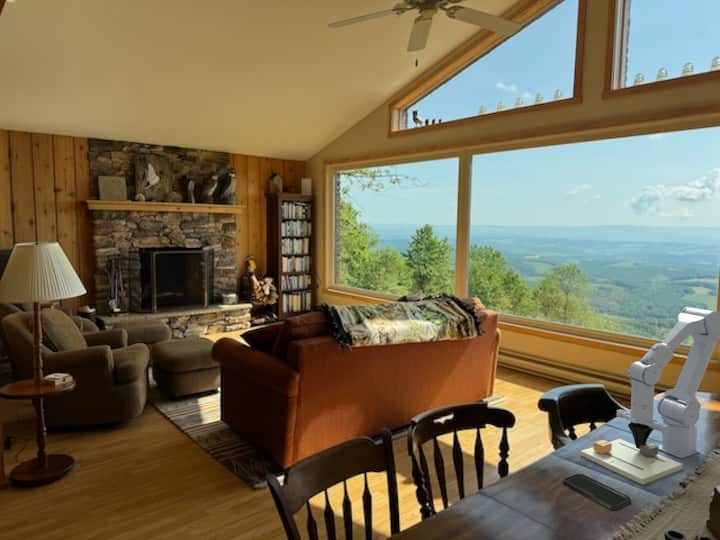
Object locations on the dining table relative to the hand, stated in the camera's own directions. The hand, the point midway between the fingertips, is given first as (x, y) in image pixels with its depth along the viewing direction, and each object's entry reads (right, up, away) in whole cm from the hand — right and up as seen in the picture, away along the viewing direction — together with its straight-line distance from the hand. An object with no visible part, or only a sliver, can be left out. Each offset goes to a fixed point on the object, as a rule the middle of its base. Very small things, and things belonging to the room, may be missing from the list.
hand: (640, 448), depth 147 cm
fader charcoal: (+1, -1, -2) cm, 3 cm away
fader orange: (-11, -1, 0) cm, 11 cm away
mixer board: (-5, -3, -3) cm, 7 cm away
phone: (-22, -5, -19) cm, 30 cm away
